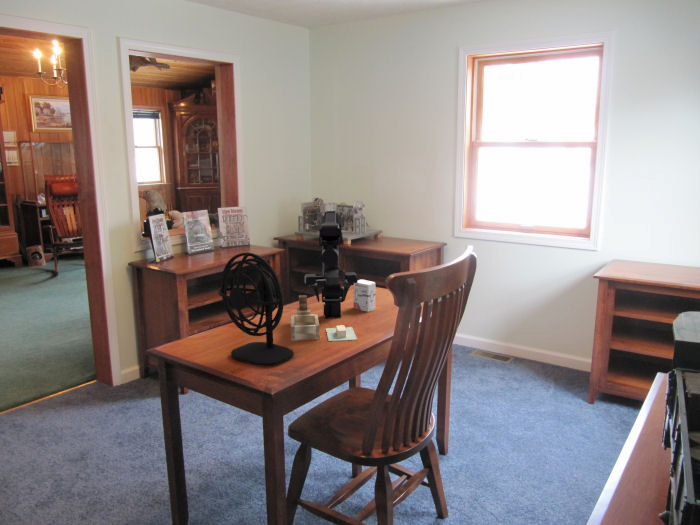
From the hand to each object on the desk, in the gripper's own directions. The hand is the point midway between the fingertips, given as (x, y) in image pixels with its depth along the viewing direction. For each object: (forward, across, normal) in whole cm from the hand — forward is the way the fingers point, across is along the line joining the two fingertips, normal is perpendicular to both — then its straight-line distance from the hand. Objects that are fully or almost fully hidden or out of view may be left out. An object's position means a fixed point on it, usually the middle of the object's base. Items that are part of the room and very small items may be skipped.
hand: (331, 301), depth 204 cm
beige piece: (+12, -10, +3) cm, 15 cm away
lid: (+12, +3, -4) cm, 13 cm away
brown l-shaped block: (+6, -10, +13) cm, 17 cm away
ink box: (+12, +17, +27) cm, 34 cm away
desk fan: (+12, -26, -22) cm, 35 cm away
